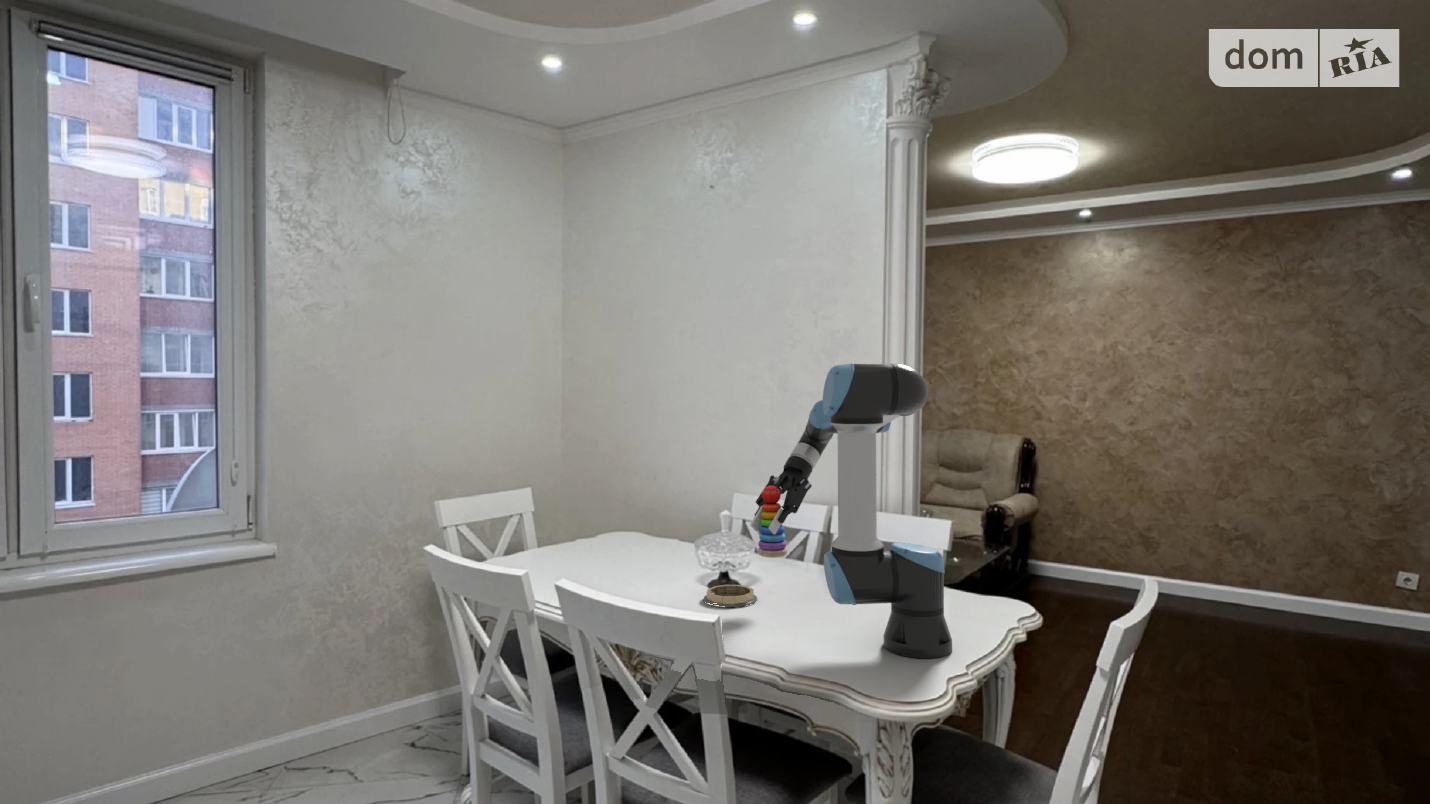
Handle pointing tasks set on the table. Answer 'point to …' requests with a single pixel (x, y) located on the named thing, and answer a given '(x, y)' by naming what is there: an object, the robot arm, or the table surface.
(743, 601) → the collar plate
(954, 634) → the table surface
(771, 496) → the stacking toy
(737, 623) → the table surface
